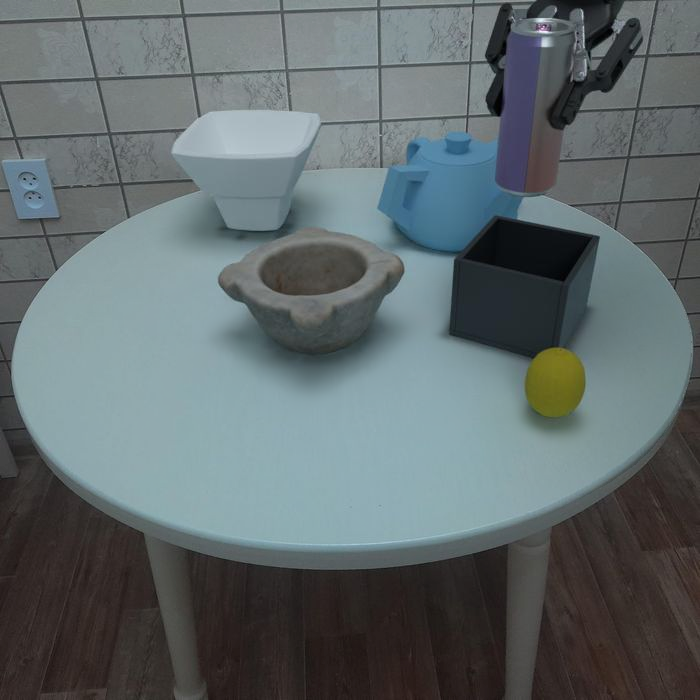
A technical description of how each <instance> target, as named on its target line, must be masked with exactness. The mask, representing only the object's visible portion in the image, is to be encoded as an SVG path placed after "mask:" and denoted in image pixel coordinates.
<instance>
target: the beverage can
mask: <svg viewBox="0 0 700 700" xmlns="http://www.w3.org/2000/svg"><path fill="white" fill-rule="evenodd" d="M575 30H576V24H574V23H573V22H570V21H567V20H562V19H553V18H531V19H523V20H518V21H515V22H513V23H512V24H511V31H510V33H509V36H508V38H507V49H506V60H505V71H504V82H503V93H502V104H501V115H500V117H499V126H498V138H497V139H498V148H497V159H496V170H495V181H496V184H497V186H498V187H499V189H500V190H502V191H503V192H505V193H507V194H510V195H514V196H519V197H523V198H535V197H541V196H544V195H546V194H548V193H550V192H551V190H552V189H554V187H555V186H556V185H557V180H558V173H559V167H560V159H561V154H562V153H561V152H562V147H563V137H564V132H565V129H564V130H557V129H555V128H554V126H553V124H552V122H551V116H552V114H553V111H554V109H555V107H556V105H557V103H558V101H559V99H560V97H561V94H562V92H563V91H564V89H565V87H566V85H567V83H568V82H572V78H573V63H574V56H575V49H576V42H577V38H576V32H575Z"/></svg>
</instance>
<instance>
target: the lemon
mask: <svg viewBox="0 0 700 700" xmlns="http://www.w3.org/2000/svg"><path fill="white" fill-rule="evenodd" d="M586 381H587V380H586V370H585V366H584V365H583V363H582V361H581V359H580V358H579V357H578V356H577V355H576V354H575V353H574V352H572V351H571V350H569V349H567V348H564V349H563V348H550V349H547V350H544V351H542V352H540V353H539V354H538V355H537V356H536V357H535V358H533V359H532V360H531V362H530V363H529V366H528V368H527V371H526V374H525V378H524V393H525V397H526V400H527V402H528V403H529V405H530V407H531V408H532V409H533V410H534V411H535V412H536V413H537V414H539V415H541V416H543V417H547V418H552V419H553V418H562V417H565V416H567V415H569V414H571V413H572V412H574V411H575V410H576V409H577V408H578V407H579V405H580V403H581V402H582V400H583V397H584V394H585V391H586Z"/></svg>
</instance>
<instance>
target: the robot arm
mask: <svg viewBox="0 0 700 700" xmlns="http://www.w3.org/2000/svg"><path fill="white" fill-rule="evenodd" d="M625 2H626V0H535V1H534V2H533V3H531V5H530V6H529V7H528V8H515V9H514V8H513V6H512V4H511V3H509V2H505V3H503V4H502V5H500V7H499V10H498V13H497V15H496V19H495V22H494V25H493V28H492V31H491V35H490V37H489V41H488V43H487V47H486V50H485V52H484V59H485V60H486V62H487V64H488V65H489V67H490V69H491V71H492V73H493V74H495V76H494V78H493V80H492V82H491V84H490V87H489V88H488V91H487V93H486V94H485V101H484V102H485V103H486V108H487V110H488V111H489V113H490V115H491V116H492V117H496V118H497V117H498V118H500V115H501V104H502V93H503V82H504V71H505V60H506V49H507V38H508V36H509V33H510V31H511V24H512V23H513V22H515V21H518V20H523V19H531V18H553V19H562V20H567V21H570V22H573V23H574V24H576V30H575V32H576V38H577V42H576V49H575V56H574V63H573V70H572V79H571V82H568V83H567V85H566V87H565V89H564V91H563V92H562V94H561V97H560V99H559V101H558V103H557V105H556V107H555V109H554V111H553V114H552V116H551V122H552V124H553V126H554V128H555V129H557V130H564V131H565V128H566V126H571V125H572V124H573V123H574V122H575V120H576V117H577V115H578V113H579V111H580V109H581V107H582V106H583V103H584V101H585V98H586V97H587V96H588V95H589V94H590V93H592V92H598V91H600V92H601V93H603V94H607V93H610V92H611V91H612V90H613V89H614V87H615V86H616V84H617V83H618V82H619V80H620V78H621V76H622V75H623V73H624V72H625V70H626V69H627V67H628V65H629V64H630V62H632V59H633V58H634V57H635V55H636V53H637V52H638V50H639V49H640V47H641V45H642V44H643V42H644V35H643V29H642V25H641V21H640V19H639V18H638V17H631V18H629V19H628V20H627V21H625V20H621V19H619V18H618V15H619V14H620V12H621V10H622V7H624V4H625ZM610 37H611V40H612V44H611V45H610V47H609V48H608V50H607V51H606V53H605V54H604V56H603V57H602V59H601V61H600V62H599V64H598V65H597V67H596V69H593V61H592V60H593V56H592V55H593V54H592V53H593V50H594V49H596V48H597V47H598V46H599V45H601V44H602V43H604V42H605V41H606V40H608V39H610Z"/></svg>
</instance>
